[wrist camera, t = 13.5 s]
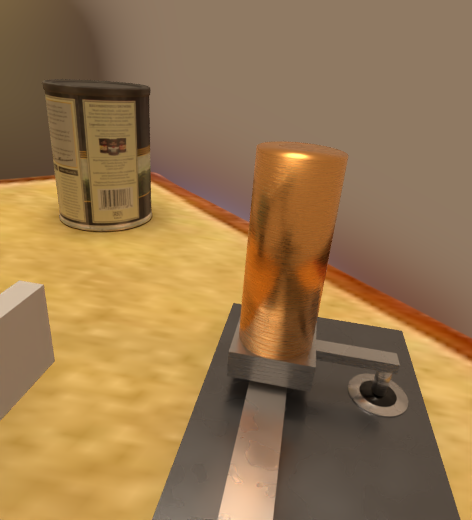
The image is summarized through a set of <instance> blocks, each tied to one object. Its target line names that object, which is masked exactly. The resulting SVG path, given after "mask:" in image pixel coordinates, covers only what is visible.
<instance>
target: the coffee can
mask: <svg viewBox="0 0 472 520" xmlns="http://www.w3.org/2000/svg"><path fill="white" fill-rule="evenodd" d="M42 84H43V88H44V90H45V96H46V104H47V112H48V120H49V127H50V136H51V144H52V153H53V161H54V169H55V178H56V186H57V194H58V202H59V211H60V215H59V217H60V220H61V221H62V222H63V223H64V224H66V225H68V226H70V227H73V228H77V229H81V230H89V231H117V230H125V229H130V228H134V227H137V226H140V225H142V224H144V223H146V222H148V221H149V220H150V219H151V217H152V211H151V175H150V127H149V124H150V120H149V95H150V87H148V86H145V85H140V84H132V83H120V82H110V81H91V80H45V81H43V82H42Z"/></svg>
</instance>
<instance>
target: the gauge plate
mask: <svg viewBox="0 0 472 520" xmlns="http://www.w3.org/2000/svg"><path fill="white" fill-rule="evenodd" d="M241 306H242V305H241V304H235V303H233V306H232V309H231V311H230V314H229V316H228V319H227V322H226V324H225V327H224V330H223V332H222V335H221V338H220V340H219V343H218V346H217V348H216V351H215V354H214V356H213V359H212V362H211V364H210V367H209V370H208V372H207V375H206V378H205V380H204V383H203V386H202V388H201V391H200V394H199V396H198V399H197V402H196V404H195V407H194V410H193V412H192V415H191V418H190V420H189V423H188V426H187V428H186V431H185V434H184V436H183V439H182V442H181V444H180V447H179V449H178V452H177V455H176V457H175V460H174V463H173V465H172V468H171V471H170V473H169V476H168V479H167V481H166V484H165V487H164V489H163V492H162V495H161V497H160V500H159V503H158V505H157V508H156V511H155V513H154V516H153V519H152V520H460V517H459V514H458V510H457V507H456V504H455V501H454V497H453V494H452V491H451V488H450V485H449V481H448V478H447V475H446V472H445V468H444V465H443V462H442V459H441V455H440V452H439V449H438V446H437V443H436V439H435V436H434V433H433V430H432V426H431V423H430V420H429V417H428V413H427V410H426V407H425V404H424V401H423V397H422V394H421V391H420V388H419V384H418V381H417V378H416V375H415V371H414V368H413V365H412V362H411V359H410V355H409V352H408V349H407V346H406V342H405V339H404V336H403V333H402V331H399V330H393V329H387V328H381V327H375V326H369V325H363V324H357V323H351V322H345V321H339V320H333V319H326V318H320V317H317V322H316V323H317V324H316V340H322V341H328V342H334V343H339V344H345V345H351V346H357V347H363V348H369V349H374V350H380V351H386V352H392V353H397V356H398V360H399V364H400V367H399V370H398V373H397V374H392V376H391V379H390V383H389V386H388V389H387V392H386V395H384V396H378V395H376V394H374V393H373V392H372V390H371V387H372V384H373V380H374V377H375V373H376V371H375V370H370V369H364V368H358V367H353V366H347V365H342V364H336V363H330V362H325V361H319V360H316V368H315V373H314V378H313V383H312V388H311V392H308V391H303V390H298V389H292V388H287V387H282V386H276V385H271V384H266V383H261V382H255V381H250V380H245V379H240V378H234V377H229V376H227V366H228V354H229V349H230V346H231V343H232V340H233V337H234V334H235V331H236V328H237V325H238V322H239V319H240V316H241Z"/></svg>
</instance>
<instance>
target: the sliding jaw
mask: <svg viewBox="0 0 472 520" xmlns="http://www.w3.org/2000/svg"><path fill="white" fill-rule="evenodd" d="M347 160H348V154H347V153H345V152H343V151H341V150H338V149H334V148H330V147H326V146H321V145H315V144H308V143H298V142H265V143H261V144H258V145H257V149H256V160H255V170H254V181H253V192H252V203H251V212H250V223H249V233H248V244H247V254H246V265H245V275H244V285H243V296H242V306H241V316H240V319H239V322H238V325H237V328H236V331H235V334H234V337H233V340H232V343H231V346H230V349H229V354H228V366H227V376H229V377H234V378H240V379H245V380H250V381H255V382H261V383H266V384H271V385H276V386H282V387H287V388H292V389H298V390H303V391H308V392H311V388H312V383H313V378H314V373H315V368H316V360H319V361H325V362H330V363H336V364H342V365H347V366H353V367H358V368H364V369H370V370H375V371H376V373H375V377H374V380H373V384H372V387H371V390H372V392H373V393H374V394H376V395H378V396H384V395H386V392H387V389H388V386H389V383H390V379H391V376H392V374H397V373H398V370H399V367H400V364H399V360H398V356H397V353H392V352H386V351H380V350H374V349H369V348H363V347H357V346H351V345H345V344H339V343H334V342H328V341H322V340H316V324H317V323H316V322H317V317H318V312H319V306H320V301H321V296H322V291H323V285H324V280H325V275H326V270H327V265H328V259H329V254H330V249H331V244H332V238H333V233H334V228H335V223H336V218H337V212H338V207H339V202H340V197H341V191H342V186H343V181H344V176H345V171H346V165H347Z"/></svg>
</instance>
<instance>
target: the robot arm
mask: <svg viewBox="0 0 472 520" xmlns="http://www.w3.org/2000/svg"><path fill="white" fill-rule="evenodd" d="M54 361H55V360H54V353H53V346H52V339H51V332H50V325H49V318H48V312H47V305H46V298H45V291H44V285H42V284H36V283H31V282H25V281H18V282H17V283H15V284H14V285H12V286H11V287H9V288H8V289H7V290H5V291H4V292H2V293H1V294H0V421H1V419H2V418H3V417H4V416H5V415H6V414H7V413H8V412H9V411H10V410H11V408H12V407H13V406H14V405H15V404H16V403H17V402H18V401H19V400H20V399H21V397H22V396H23V395H24V394H25V393H26V392H27V391H28V390H29V389H30V388H31V387H32V385H33V384H34V383H35V382H36V381H37V380H38V379H39V378H40V377H41V376H42V374H43V373H44V372H45V371H46V370H47V369H48V368H49V367H50V366H51V365H52V363H53V362H54Z"/></svg>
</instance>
